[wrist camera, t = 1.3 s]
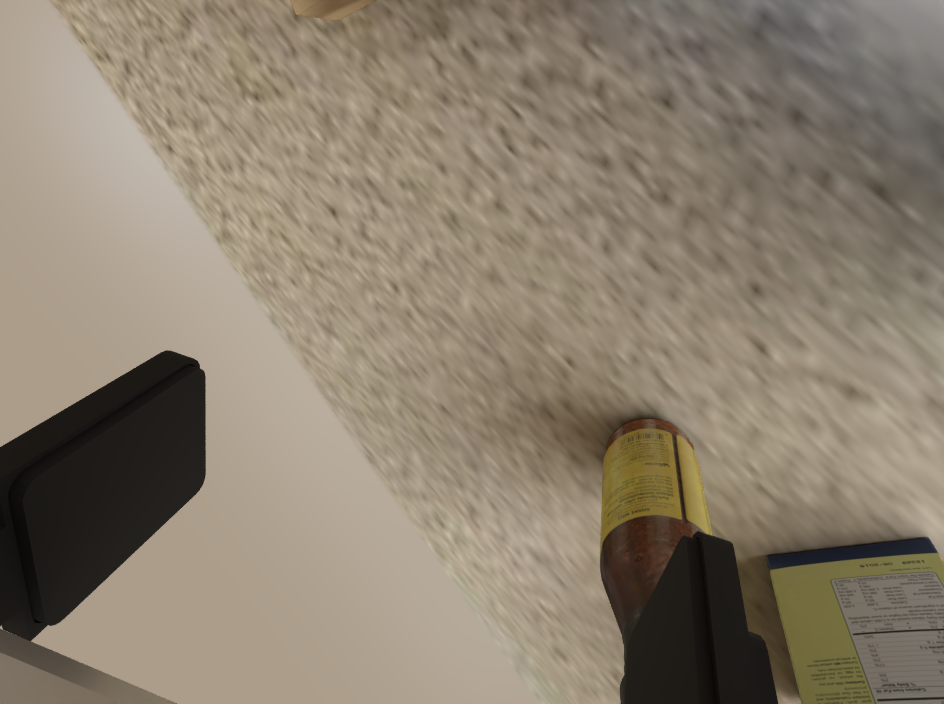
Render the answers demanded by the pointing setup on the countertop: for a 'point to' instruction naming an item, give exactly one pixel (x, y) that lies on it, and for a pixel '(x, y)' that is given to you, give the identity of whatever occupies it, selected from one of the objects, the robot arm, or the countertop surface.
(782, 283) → the countertop surface
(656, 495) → the sauce bottle
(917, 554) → the protein box
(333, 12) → the oak block
